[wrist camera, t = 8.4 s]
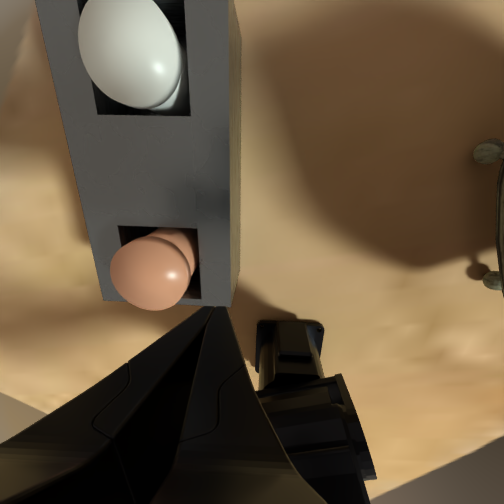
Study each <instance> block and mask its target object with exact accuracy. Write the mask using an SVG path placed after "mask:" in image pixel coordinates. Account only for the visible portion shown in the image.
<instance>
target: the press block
mask: <svg viewBox="0 0 504 504" xmlns="http://www.w3.org/2000/svg"><path fill="white" fill-rule="evenodd" d="M153 1H154V2H155V3H156V5H157V6H158V7H159V9H160V10H161V11H162V13H163V14H164V15H165V17H166V18H167V20H168V21H169V22H170V24H171V26H172V27H173V29H174V31H175V33H176V35H177V38H178V41H179V43H180V44H181V46H182V47H183V48H184V50H185V51H186V52H187V58H188V75H189V92H190V109H191V113H190V114H188V115H187V116H163V115H160V114H158V113H155V112H153V111H151V110H148V109H137V108H133V107H130V106H128V105H125V104H122V103H120V102H117V101H115V100H113V99H112V98H110V97H109V96H107V95H106V94H105V93H103V92H102V91H101V90H100V89H99V88H98V87H97V85H96V84H95V83H94V82H93V80H92V79H91V77H90V76H89V74H88V72H87V70H86V68H85V66H84V63H83V60H82V58H81V54H80V50H79V43H78V27H79V21H80V17H81V14H82V11H83V9H84V7H85V4H86V3H87V2H88V0H35V3H36V7H37V12H38V16H39V20H40V25H41V29H42V33H43V38H44V42H45V47H46V51H47V55H48V60H49V64H50V69H51V73H52V77H53V82H54V86H55V90H56V95H57V99H58V104H59V108H60V112H61V117H62V121H63V126H64V130H65V134H66V139H67V143H68V147H69V152H70V156H71V161H72V165H73V169H74V174H75V178H76V183H77V187H78V191H79V196H80V200H81V204H82V209H83V213H84V218H85V222H86V226H87V231H88V235H89V240H90V244H91V248H92V253H93V257H94V261H95V266H96V270H97V275H98V279H99V283H100V288H101V292H102V297H103V300H104V301H123V302H128V301H127V300H125V299H124V298H123V297H122V296H121V295H120V294H119V293H118V291H117V290H116V288H115V286H114V285H113V282H112V279H111V275H110V265H111V261H112V258H113V256H114V255H115V253H116V252H117V251H118V250H119V249H120V248H121V247H123V246H124V245H126V244H128V243H129V242H131V241H133V240H135V239H137V238H140V237H145V236H147V235H149V234H150V233H152V232H153V231H155V230H156V229H158V228H160V227H174V228H197V229H198V245H199V262H200V263H199V265H198V266H197V268H196V269H195V271H194V272H193V274H192V275H191V279H190V283H189V285H188V288H187V289H186V291H185V292H184V294H183V296H182V297H181V299H180V300H179V301H178V302H177V303H176V304H180V305H198V306H227V307H231V305H232V301H233V297H234V292H235V288H236V284H237V280H238V276H239V272H240V188H241V33H240V28H239V23H238V19H237V14H236V9H235V4H234V0H153Z"/></svg>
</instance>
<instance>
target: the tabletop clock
mask: <svg viewBox="0 0 504 504" xmlns="http://www.w3.org/2000/svg"><path fill="white" fill-rule="evenodd" d="M473 157H474V159H475V160H476V161H477V162H479V163H482V164H490V163H493V162H495V161H497V160H498V159H502V160H503V162H502V165H501V168H500V171H499V177H498V182H497V197H496V247H497V256H498V264H499V272H498V271H490V272H488V273H486V274H485V275H484V277H483V283H484V285H485V286H486V287H487V288H489V289H493V290H502V293H503V296H504V142H502V141H500V140H498V139H489V140H486V141H484V142H482V143H481V144H479V145H478V146H477V147H476V148H475V150H474V154H473Z"/></svg>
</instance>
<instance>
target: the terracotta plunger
mask: <svg viewBox="0 0 504 504" xmlns="http://www.w3.org/2000/svg"><path fill="white" fill-rule="evenodd" d="M199 263H200V262H199V245H198V229H197V228H174V227H160V228H158V229H156V230H155V231H153V232H152V233H150V234H149V235H147V236H145V237H140V238H137V239H135V240H133V241H131V242H129V243H128V244H126V245H124V246H123V247H121V248H120V249H119V250H118V251H117V252H116V253H115V255H114V256H113V258H112V261H111V265H110V275H111V279H112V282H113V285H114V286H115V288H116V290H117V291H118V293H119V294H120V295H121V296H122V297H123V298H124V299H125V300H127V301H128V302H129V303H131V304H133V305H134V306H137V307H139V308H142V309H146V310H163V309H167V308H169V307H171V306H173V305H175V304H176V303H177V302H178V301H179V300H180V299H181V297H182V296H183V294H184V292H185V291H186V289H187V288H188V285H189V283H190V279H191V275H192V274H193V272H194V271H195V269H196V268H197V266H198V265H199Z"/></svg>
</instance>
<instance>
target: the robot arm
mask: <svg viewBox="0 0 504 504" xmlns="http://www.w3.org/2000/svg"><path fill="white" fill-rule="evenodd" d="M260 325H264V326H263V327H262V326H260ZM318 328H321V329H319V330H317V329H318ZM323 336H324V327H323V325H322V324H319V323H304V322H289V321H267V320H260V321H258V323H257V336H256V363H255V371H256V372H257V373H259V390H258V391H255V390H254V387H253V384H252V382H251V379H250V376H249V373H248V370H247V367H246V364H245V361H244V358H243V355H242V352H241V348H240V345H239V342H238V339H237V336H236V333H235V329H234V326H233V323H232V320H231V317H230V314H229V311H228V308H227V306H216V307H215V306H203V307H202V308H201V309H199V310H198V311H196V312H195V313H194V314H192V315H191V316H190V317H188V318H187V319H185V320H184V321H183V322H181V323H180V324H179V325H177V326H176V327H174V328H173V329H172V330H170V331H169V332H168V333H166V334H165V335H163V336H162V337H161V338H159V339H158V340H157V341H155V342H154V343H152V344H151V345H150V346H148V347H147V348H146V349H144V350H143V351H141V352H140V353H139V354H137V355H136V356H135V357H133V358H132V359H130V360H129V361H128V363H125V364H123V365H122V366H121V367H119V368H118V369H117V370H115V371H114V372H112V373H111V374H110V375H108V376H107V377H105V378H104V379H102V380H101V381H100V382H98V383H97V384H95V385H94V386H92V387H91V388H89V389H87V390H86V391H84V392H83V393H81V394H80V395H78V396H77V397H75V398H74V399H72V400H70V401H69V402H67V403H66V404H64V405H62V406H61V407H59V408H58V409H56V410H55V411H53V412H51V413H50V414H48V415H47V416H45V417H43V418H42V419H40V420H39V421H37V422H36V423H34V424H32V425H31V426H29V427H28V428H26V429H24V430H23V431H21V432H20V433H18V434H16V435H15V436H13V437H11V438H10V439H8V440H6V441H5V442H3V443H1V444H0V504H370V501H369V497H368V494H367V490H366V487H365V484H364V481H366V480H375V479H377V476H376V472H375V469H374V465H373V462H372V458H371V455H370V452H369V449H368V445H367V442H366V439H365V436H364V433H363V430H362V427H361V424H360V421H359V418H358V415H357V413H356V410H355V407H354V405H353V402H352V400H351V397H350V394H349V392H348V389H347V387H346V384H345V382H344V379H343V376H342V374H341V373H340V374H335V376H332V377H327V378H325V377H324V373H323V369H322V365H321V361H320V355H321V348H322V342H323Z"/></svg>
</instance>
